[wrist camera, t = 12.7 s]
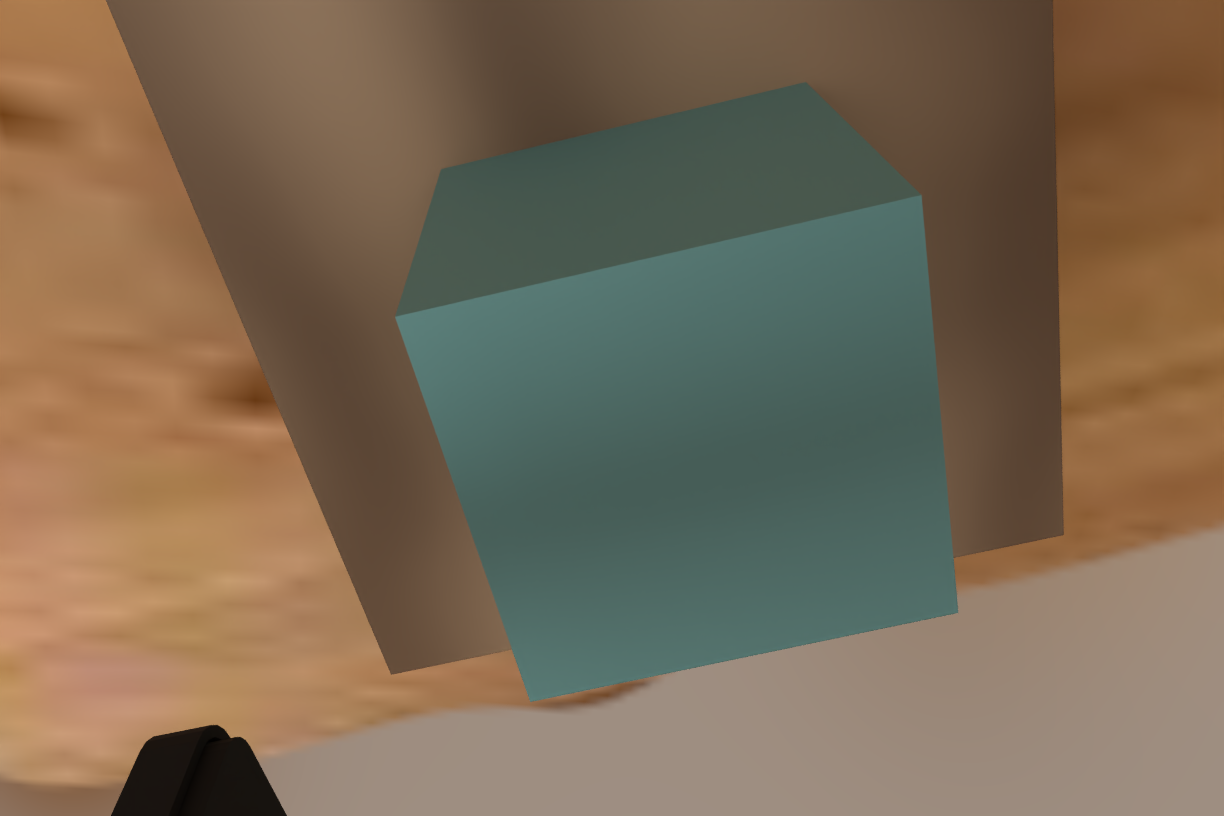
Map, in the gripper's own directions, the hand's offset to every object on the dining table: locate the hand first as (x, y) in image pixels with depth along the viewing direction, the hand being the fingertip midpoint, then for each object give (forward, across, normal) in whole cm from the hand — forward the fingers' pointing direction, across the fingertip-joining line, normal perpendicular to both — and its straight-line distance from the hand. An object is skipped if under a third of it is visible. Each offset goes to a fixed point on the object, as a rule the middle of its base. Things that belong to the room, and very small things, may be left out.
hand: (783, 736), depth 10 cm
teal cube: (+10, 0, 0) cm, 10 cm away
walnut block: (+15, 0, 0) cm, 15 cm away
